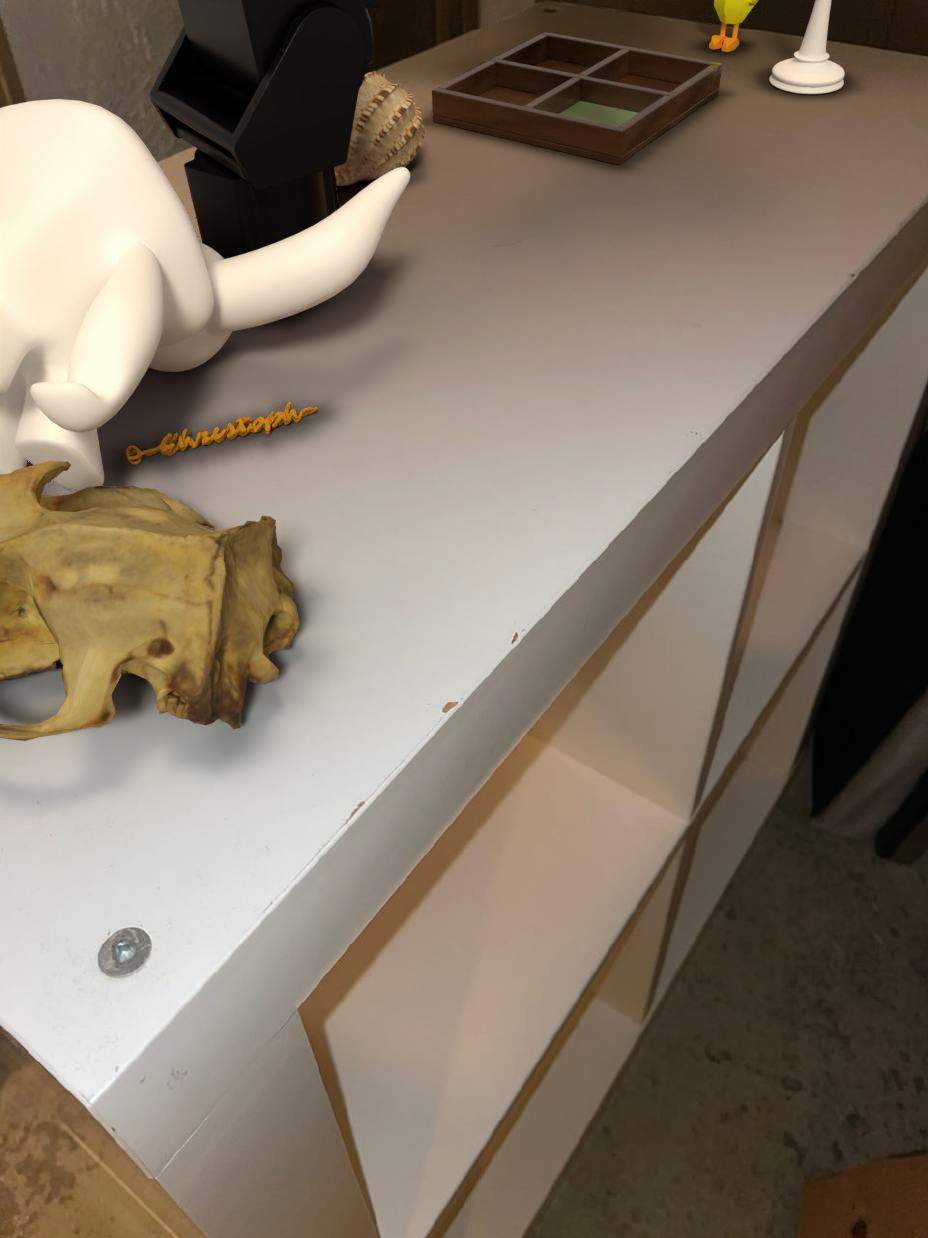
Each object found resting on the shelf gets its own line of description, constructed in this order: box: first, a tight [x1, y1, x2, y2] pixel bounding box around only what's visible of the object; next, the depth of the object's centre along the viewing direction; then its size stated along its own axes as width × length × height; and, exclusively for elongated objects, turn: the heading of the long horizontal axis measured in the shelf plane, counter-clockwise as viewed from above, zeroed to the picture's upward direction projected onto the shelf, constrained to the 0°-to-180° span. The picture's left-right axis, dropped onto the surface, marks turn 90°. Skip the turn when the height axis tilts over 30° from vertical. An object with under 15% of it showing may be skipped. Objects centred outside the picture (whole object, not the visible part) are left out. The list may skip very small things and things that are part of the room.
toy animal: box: [0, 98, 411, 492], centre depth 37 cm, size 20×12×17 cm
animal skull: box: [0, 461, 300, 742], centre depth 29 cm, size 10×16×7 cm
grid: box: [431, 31, 724, 166], centre depth 63 cm, size 14×14×2 cm
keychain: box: [125, 401, 318, 466], centre depth 39 cm, size 8×1×1 cm, turn 112°
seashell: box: [334, 71, 426, 187], centre depth 55 cm, size 8×6×10 cm
